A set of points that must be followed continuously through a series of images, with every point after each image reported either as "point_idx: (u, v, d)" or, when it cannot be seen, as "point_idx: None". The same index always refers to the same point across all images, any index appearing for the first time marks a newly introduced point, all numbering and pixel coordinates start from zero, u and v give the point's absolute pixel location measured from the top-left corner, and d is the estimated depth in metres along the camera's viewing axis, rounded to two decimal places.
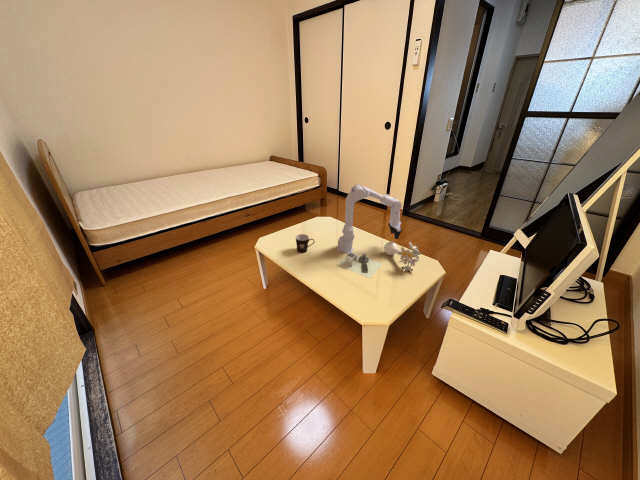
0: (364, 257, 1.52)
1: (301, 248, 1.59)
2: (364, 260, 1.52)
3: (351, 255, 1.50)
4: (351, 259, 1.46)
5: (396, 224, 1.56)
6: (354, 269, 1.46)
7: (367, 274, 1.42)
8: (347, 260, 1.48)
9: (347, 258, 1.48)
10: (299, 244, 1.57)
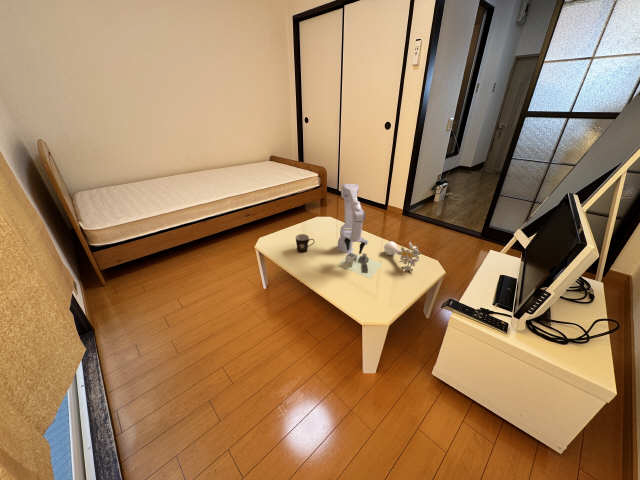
0: (364, 257, 1.52)
1: (301, 248, 1.59)
2: (364, 260, 1.52)
3: (351, 255, 1.50)
4: (351, 259, 1.46)
5: None
6: (354, 269, 1.46)
7: (367, 274, 1.42)
8: (347, 260, 1.48)
9: (347, 258, 1.48)
10: (299, 244, 1.57)
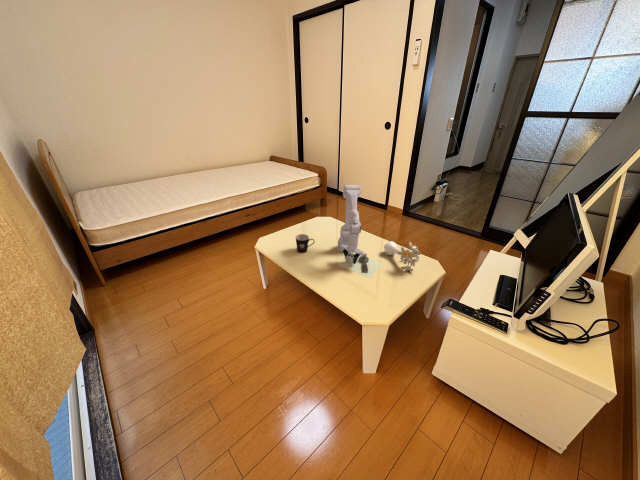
0: (364, 257, 1.52)
1: (301, 248, 1.59)
2: (364, 260, 1.52)
3: (351, 255, 1.50)
4: (351, 259, 1.46)
5: None
6: (354, 269, 1.46)
7: (367, 274, 1.42)
8: (347, 260, 1.48)
9: (347, 258, 1.48)
10: (299, 244, 1.57)
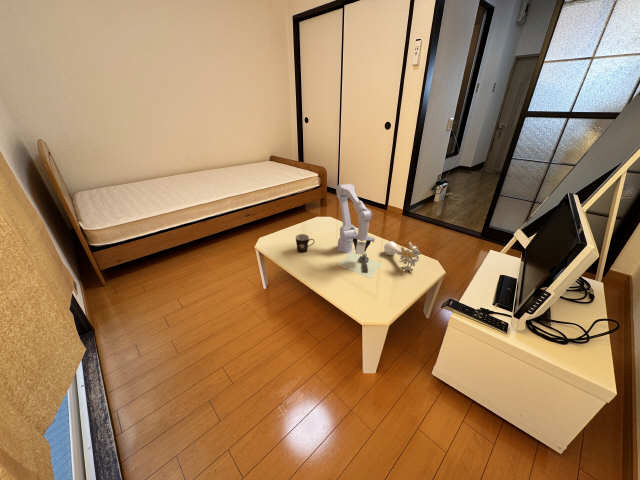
0: (364, 257, 1.52)
1: (301, 248, 1.59)
2: (364, 260, 1.52)
3: (360, 243, 1.49)
4: (362, 247, 1.45)
5: None
6: (354, 269, 1.46)
7: (367, 274, 1.42)
8: (358, 249, 1.46)
9: (358, 247, 1.46)
10: (299, 244, 1.57)
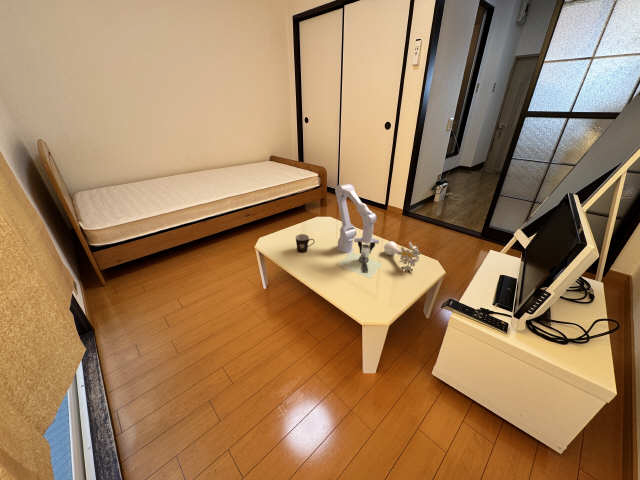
0: (364, 257, 1.52)
1: (301, 248, 1.59)
2: (364, 260, 1.52)
3: (363, 246, 1.51)
4: (368, 250, 1.48)
5: (362, 238, 1.47)
6: (354, 269, 1.46)
7: (367, 274, 1.42)
8: (363, 252, 1.49)
9: (363, 250, 1.48)
10: (299, 244, 1.57)
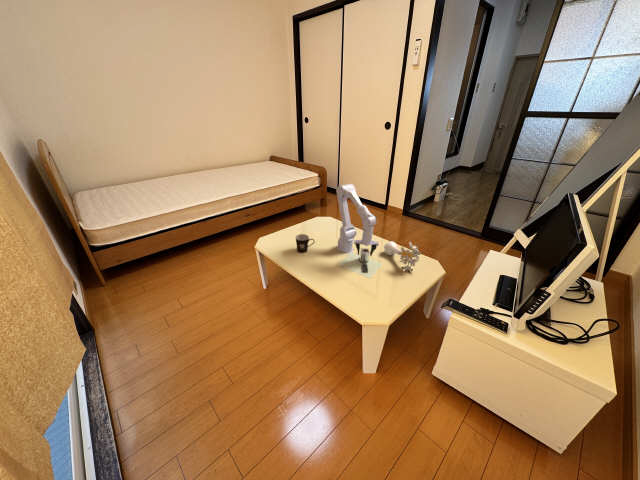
0: None
1: (301, 248, 1.59)
2: None
3: (363, 250, 1.53)
4: (367, 254, 1.49)
5: (361, 240, 1.48)
6: (354, 269, 1.46)
7: (367, 274, 1.42)
8: (363, 256, 1.50)
9: (363, 254, 1.49)
10: (299, 244, 1.57)
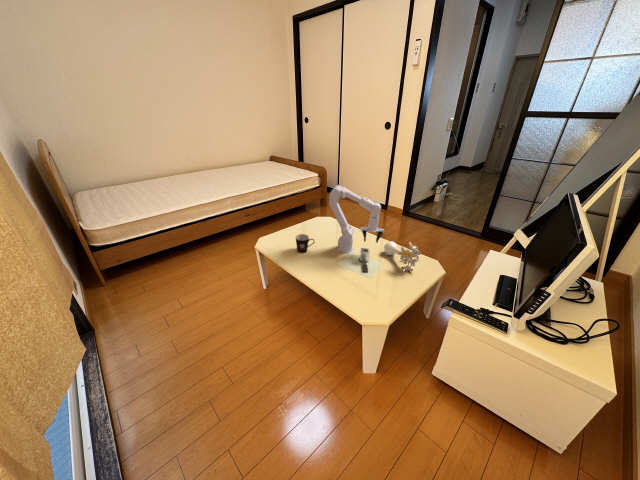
0: None
1: (301, 248, 1.59)
2: None
3: (363, 250, 1.53)
4: (367, 254, 1.49)
5: (368, 227, 1.53)
6: (354, 269, 1.46)
7: (367, 274, 1.42)
8: (363, 256, 1.50)
9: (363, 254, 1.49)
10: (299, 244, 1.57)
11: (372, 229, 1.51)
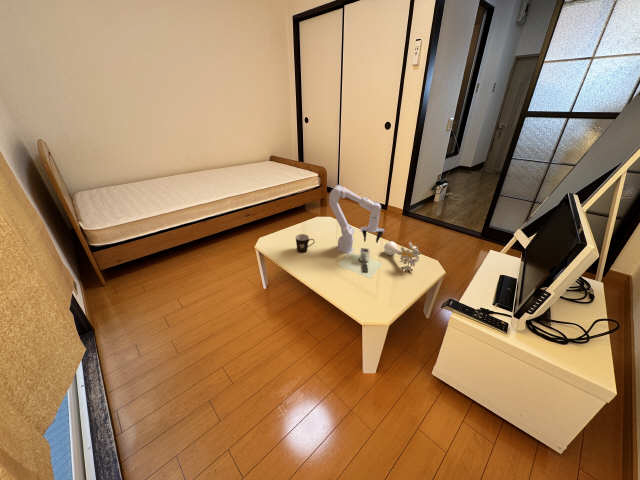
0: None
1: (301, 248, 1.59)
2: None
3: (363, 250, 1.53)
4: (367, 254, 1.49)
5: (368, 227, 1.53)
6: (354, 269, 1.46)
7: (367, 274, 1.42)
8: (363, 256, 1.50)
9: (363, 254, 1.49)
10: (299, 244, 1.57)
11: (372, 229, 1.51)
